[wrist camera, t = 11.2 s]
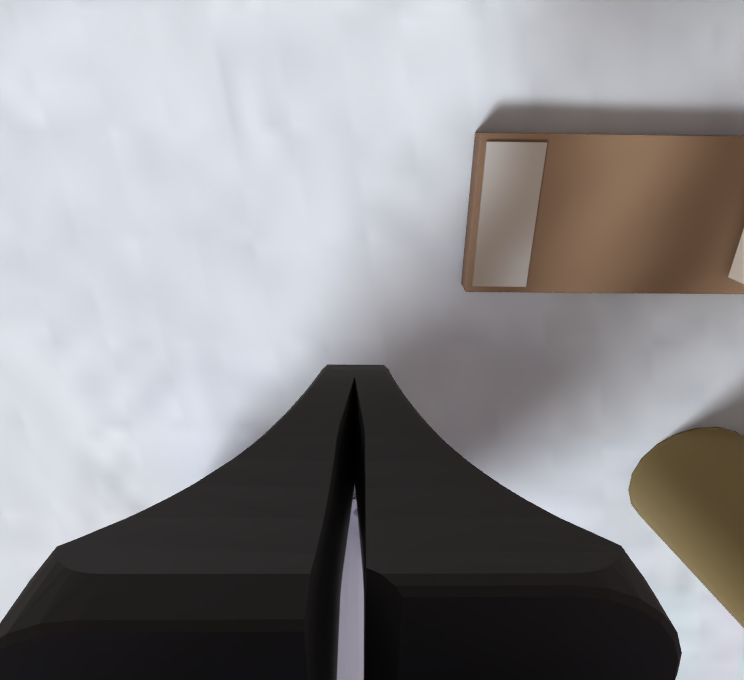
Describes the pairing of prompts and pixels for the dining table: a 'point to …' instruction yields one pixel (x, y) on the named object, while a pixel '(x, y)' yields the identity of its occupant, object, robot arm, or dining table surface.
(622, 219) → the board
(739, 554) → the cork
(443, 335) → the dining table surface
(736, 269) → the cream cube block
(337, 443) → the robot arm
